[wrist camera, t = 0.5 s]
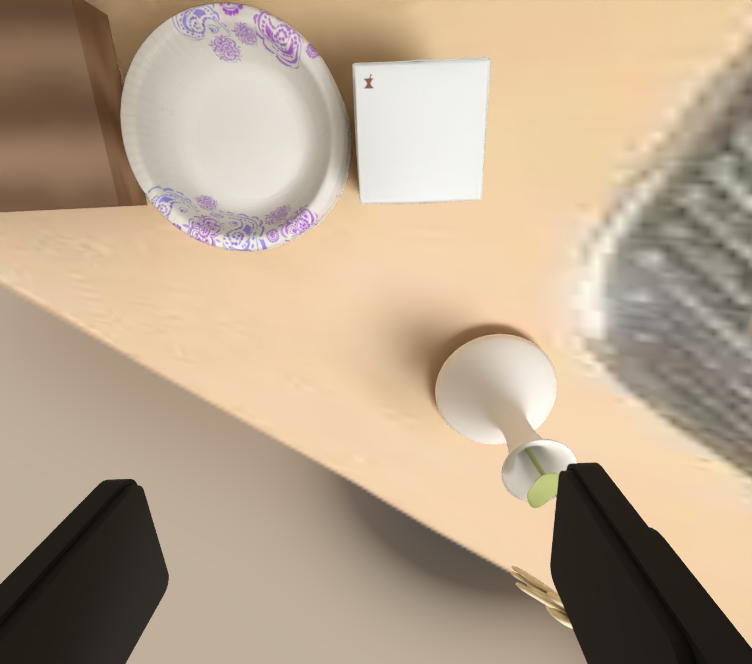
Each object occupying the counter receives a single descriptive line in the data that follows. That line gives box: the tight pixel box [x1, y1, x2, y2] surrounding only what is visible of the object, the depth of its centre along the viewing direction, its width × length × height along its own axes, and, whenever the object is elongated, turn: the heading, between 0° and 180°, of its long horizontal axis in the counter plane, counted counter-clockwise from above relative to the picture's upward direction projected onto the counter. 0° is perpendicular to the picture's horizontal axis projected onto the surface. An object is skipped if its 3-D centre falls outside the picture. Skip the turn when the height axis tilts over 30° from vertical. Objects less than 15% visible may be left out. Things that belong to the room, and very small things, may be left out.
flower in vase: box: [435, 334, 577, 629], centre depth 29 cm, size 13×11×25 cm
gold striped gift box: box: [0, 0, 147, 212], centre depth 32 cm, size 14×16×4 cm
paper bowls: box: [120, 3, 352, 252], centre depth 31 cm, size 15×15×8 cm
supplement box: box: [352, 57, 491, 204], centre depth 28 cm, size 7×7×13 cm
